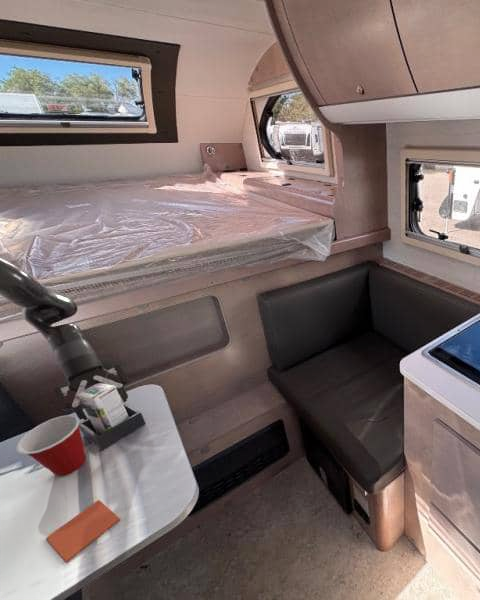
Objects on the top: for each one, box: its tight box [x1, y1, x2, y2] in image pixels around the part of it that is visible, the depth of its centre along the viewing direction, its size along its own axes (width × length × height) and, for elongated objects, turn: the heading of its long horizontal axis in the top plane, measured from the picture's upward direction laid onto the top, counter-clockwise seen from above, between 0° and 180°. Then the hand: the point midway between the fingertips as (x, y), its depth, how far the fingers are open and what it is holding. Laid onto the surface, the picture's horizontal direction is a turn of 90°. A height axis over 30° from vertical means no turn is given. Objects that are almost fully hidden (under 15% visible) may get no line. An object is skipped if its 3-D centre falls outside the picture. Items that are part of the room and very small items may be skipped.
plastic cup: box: [16, 414, 87, 477], centre depth 79 cm, size 11×11×12 cm
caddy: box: [79, 400, 146, 451], centre depth 91 cm, size 10×10×4 cm
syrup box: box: [78, 383, 129, 435], centre depth 89 cm, size 6×6×14 cm
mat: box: [45, 499, 121, 563], centre depth 68 cm, size 9×9×1 cm
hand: (106, 409), depth 88 cm, fingers open, 8 cm apart
